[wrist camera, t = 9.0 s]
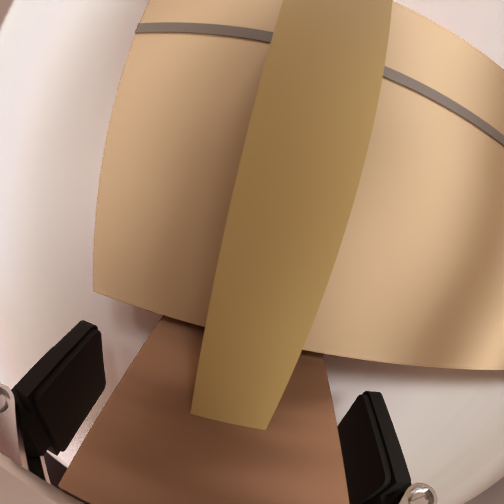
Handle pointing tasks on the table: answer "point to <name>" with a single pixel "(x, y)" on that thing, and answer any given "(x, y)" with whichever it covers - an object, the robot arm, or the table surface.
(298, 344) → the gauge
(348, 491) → the robot arm
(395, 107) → the board
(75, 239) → the table surface
